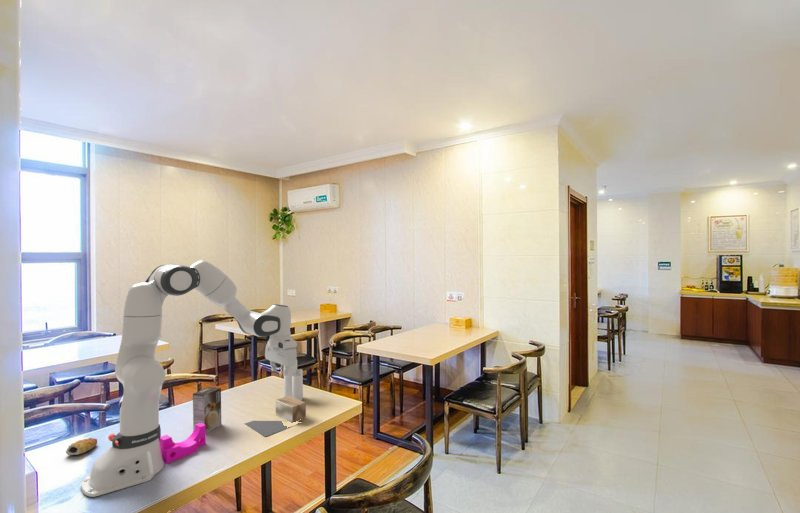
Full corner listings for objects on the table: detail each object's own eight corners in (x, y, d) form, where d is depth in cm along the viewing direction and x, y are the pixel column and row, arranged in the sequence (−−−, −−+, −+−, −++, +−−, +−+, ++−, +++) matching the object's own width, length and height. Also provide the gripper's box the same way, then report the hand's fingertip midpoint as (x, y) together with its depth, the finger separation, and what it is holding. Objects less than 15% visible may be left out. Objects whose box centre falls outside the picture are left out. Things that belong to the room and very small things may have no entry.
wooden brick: (291, 407, 165) (305, 402, 170) (275, 400, 174) (289, 395, 179) (292, 423, 165) (305, 418, 170) (275, 415, 174) (289, 410, 179)
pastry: (87, 443, 149) (86, 433, 149) (103, 443, 148) (102, 433, 148) (63, 456, 140) (63, 445, 140) (81, 456, 139) (80, 445, 139)
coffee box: (210, 423, 167) (209, 386, 167) (221, 425, 165) (221, 387, 165) (192, 432, 158) (192, 393, 158) (204, 434, 156) (204, 394, 156)
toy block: (166, 463, 135) (166, 442, 135) (158, 458, 138) (158, 437, 138) (209, 446, 147) (209, 426, 147) (200, 441, 150) (200, 422, 150)
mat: (265, 437, 153) (265, 436, 153) (244, 424, 165) (244, 423, 165) (326, 414, 176) (326, 413, 176) (303, 404, 188) (303, 403, 188)
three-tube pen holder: (281, 401, 192) (280, 361, 192) (291, 397, 198) (291, 358, 198) (297, 406, 186) (297, 364, 186) (308, 401, 192) (307, 361, 192)
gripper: (261, 339, 173) (261, 370, 173) (286, 345, 159) (285, 379, 159) (274, 337, 178) (273, 367, 177) (299, 343, 164) (299, 376, 164)
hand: (279, 373), depth 168 cm, fingers open, 8 cm apart
